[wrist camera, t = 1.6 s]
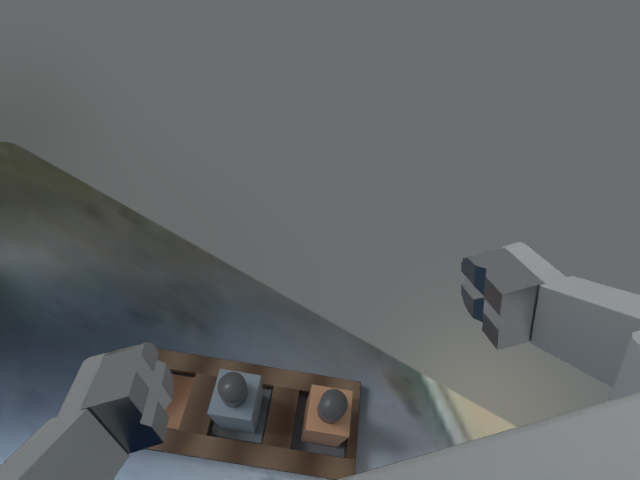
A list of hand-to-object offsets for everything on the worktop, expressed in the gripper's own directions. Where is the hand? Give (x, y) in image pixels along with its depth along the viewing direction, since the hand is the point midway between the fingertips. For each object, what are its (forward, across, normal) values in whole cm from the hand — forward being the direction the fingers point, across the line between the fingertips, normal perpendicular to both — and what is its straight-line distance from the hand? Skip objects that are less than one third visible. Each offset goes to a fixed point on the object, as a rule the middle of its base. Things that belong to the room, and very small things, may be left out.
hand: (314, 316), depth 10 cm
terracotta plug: (+18, +3, +33) cm, 38 cm away
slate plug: (+20, +11, +30) cm, 38 cm away
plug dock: (+20, +11, +30) cm, 38 cm away
